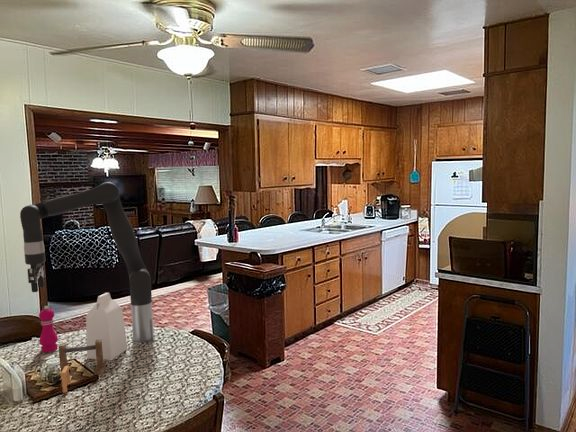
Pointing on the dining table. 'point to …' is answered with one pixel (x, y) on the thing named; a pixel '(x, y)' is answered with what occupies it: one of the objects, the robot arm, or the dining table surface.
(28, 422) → the dining table surface
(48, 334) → the pepper mill
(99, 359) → the hook frame
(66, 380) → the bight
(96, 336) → the milk
